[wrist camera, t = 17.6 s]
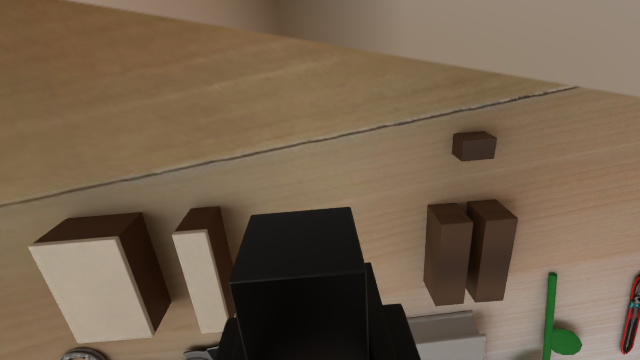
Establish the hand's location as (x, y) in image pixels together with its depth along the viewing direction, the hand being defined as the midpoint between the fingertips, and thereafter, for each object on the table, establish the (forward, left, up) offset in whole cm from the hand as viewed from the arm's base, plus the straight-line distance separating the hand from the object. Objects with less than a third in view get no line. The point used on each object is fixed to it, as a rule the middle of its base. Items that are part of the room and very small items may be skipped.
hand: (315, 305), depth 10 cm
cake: (+13, -22, -22) cm, 34 cm away
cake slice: (+13, -12, -22) cm, 28 cm away
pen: (+27, +38, -22) cm, 52 cm away
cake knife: (+5, 0, -1) cm, 5 cm away
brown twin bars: (+10, +15, -22) cm, 29 cm away
